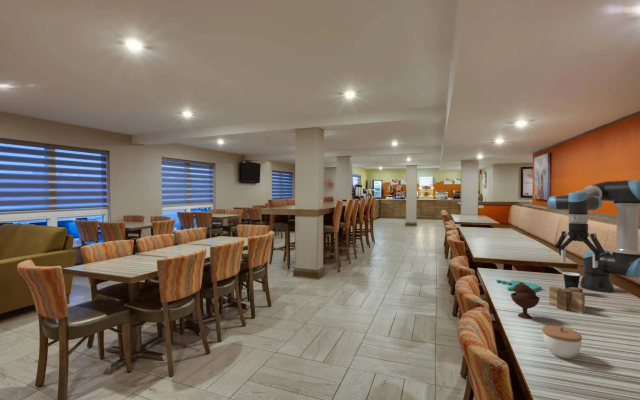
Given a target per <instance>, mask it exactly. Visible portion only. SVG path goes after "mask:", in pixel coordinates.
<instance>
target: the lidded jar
mask: <svg viewBox="0 0 640 400" xmlns="http://www.w3.org/2000/svg"><path fill="white" fill-rule="evenodd" d="M541 329H542V339H543V343H544V345H545V347H546V348H547V349H548V350H549V351H550V354H552V355H554V356H556V357H558V358H562V359H567V360H568V359H573V357H575V356H577V355H578V354H579V352H580V351H581V348H582V339H583V336H582V335H581V334H580V332H578V331H576V330H574V329H571V328H569V327H568V328H567V327H564V326H561V325H560V326H557V325H545V326H542V328H541Z"/></svg>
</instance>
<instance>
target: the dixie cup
mask: <svg viewBox="0 0 640 400" xmlns="http://www.w3.org/2000/svg"><path fill="white" fill-rule="evenodd" d="M562 274H563V281H564V289H565V288H570V287H577V288H579V286H580V278H581V274H580V273H578V272H572V271H571V272H570V271H565V272H564V271H563V272H562Z"/></svg>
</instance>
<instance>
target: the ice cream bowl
mask: <svg viewBox="0 0 640 400" xmlns="http://www.w3.org/2000/svg"><path fill="white" fill-rule="evenodd" d="M513 291H514V292H512V293H510V298H511V299H512V301H513V302H514V304H515V305H517V306H518V307H519V308H521V309H522V312H520V313H518V314H517V317H519V318H521V319H526V320H532V319H533V316H532V315H531V314H529V313H528V309H533V308H534V307H536V306H537V305H539V303H540V297H539V296H537V292H535V291H534V290H533V289H531V288H529V287H528V286H527V285H525V284H517V285H515V287H514V290H513Z"/></svg>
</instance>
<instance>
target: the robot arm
mask: <svg viewBox="0 0 640 400" xmlns="http://www.w3.org/2000/svg"><path fill="white" fill-rule="evenodd" d="M603 202H613V205H614V206H615V207H616V247H615V249H613V250H612V253H611V252H610V250H605V249H604V248H603V246H602V245H601V243H600V241H599V239H598V236H597V233H596V232H595V233H590V232H589V224H588V222H589V214H588V213H589V211H595V210H598V209H600V208H601V207H602V206H603ZM547 206H548V208H549V209H551V210H556V211H558V210H561V211H563V210H564V211H565V210H567V211H568V231H567V230H562V231H561V234H560V237H559V238H558V240H557V242H556V243H555V245H554V248H555V249H558V250H559V251H558V253H559V254H558V255H559V256H560V263H566V262H567V259H566V258H567V256H566V255H567V252H566V251H567V250H566V249H565V248H567V247H568V246H569V245H570V244H571V243H572V242H580V243H581V242H582V243H584V244H585V245H586V246H587V247H588V248H589V250H585V251H584V253H583V275H582V278H581V280H580V281H579V287H580V288H581V289H585V290H590V291H594V292H604V293H613V292H614V289H615V286H614V285H613V283H612V279H611V277H610V276H611V275H617V276H621V277H622V276H623V277H627V278H635V279H639V278H640V251H639V214H640V213H639V212H640V211H639V209H640V180H634V179H631V180H630V179H629V180H612V181H611V180H610V181H602V182H597V183H595V184H591V185H588V186H586V187H584V188H583V189H580V190H577V191H572V192H569V193H566V194H563V195H554V196H553V195H552V196H549V197H548V199H547ZM567 236H569V238H567ZM566 238H567V240H565V239H566ZM589 238H590V239H591V241H590V239H589Z"/></svg>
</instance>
